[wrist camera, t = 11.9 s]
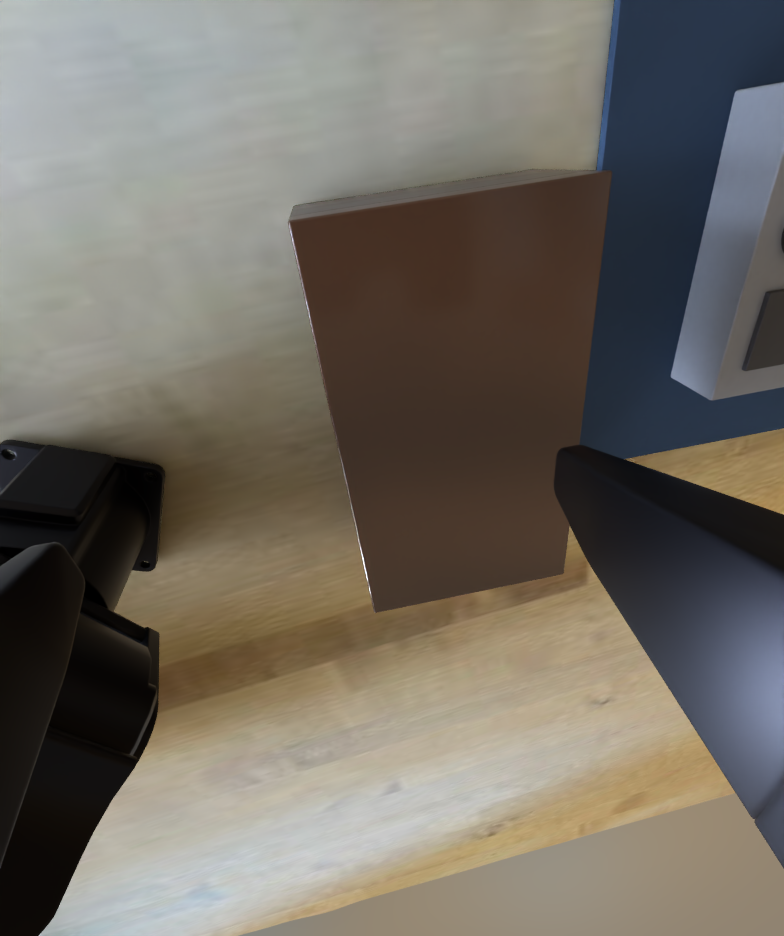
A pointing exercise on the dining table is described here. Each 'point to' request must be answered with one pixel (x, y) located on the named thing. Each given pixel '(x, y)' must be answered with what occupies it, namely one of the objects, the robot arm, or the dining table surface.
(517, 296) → the bench
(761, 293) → the remote
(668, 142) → the placemat
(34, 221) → the dining table surface
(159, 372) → the dining table surface
